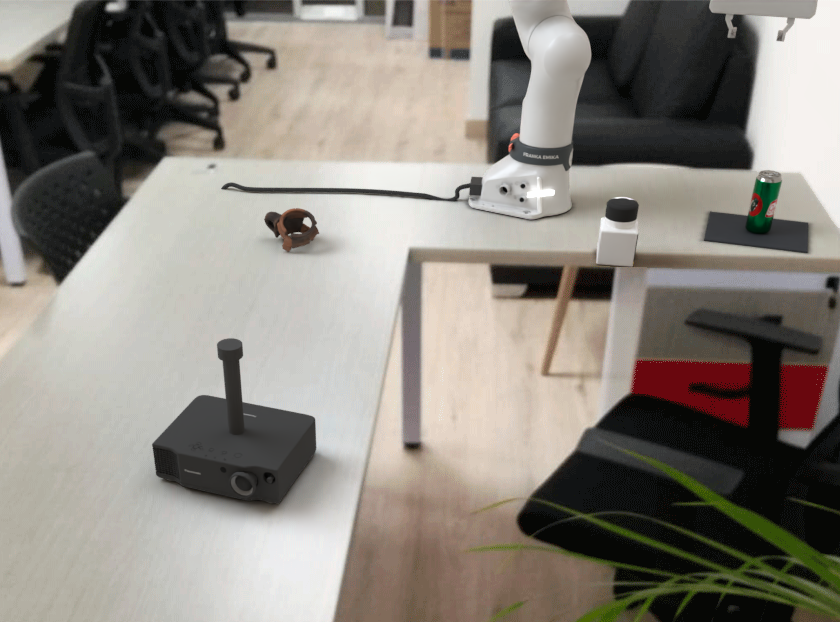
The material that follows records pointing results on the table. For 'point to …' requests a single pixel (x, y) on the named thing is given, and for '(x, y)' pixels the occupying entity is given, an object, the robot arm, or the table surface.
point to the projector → (235, 442)
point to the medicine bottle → (618, 233)
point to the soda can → (763, 202)
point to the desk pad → (779, 236)
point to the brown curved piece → (292, 227)
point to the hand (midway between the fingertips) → (755, 39)
